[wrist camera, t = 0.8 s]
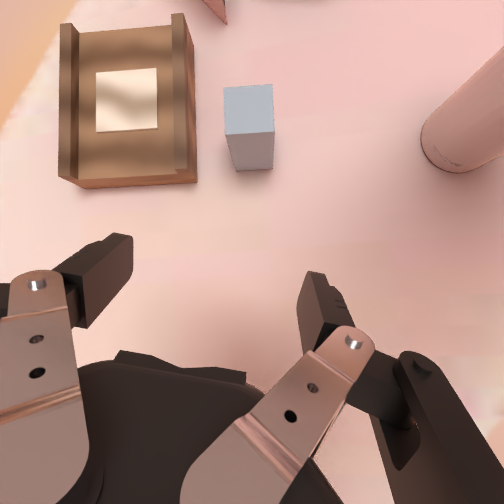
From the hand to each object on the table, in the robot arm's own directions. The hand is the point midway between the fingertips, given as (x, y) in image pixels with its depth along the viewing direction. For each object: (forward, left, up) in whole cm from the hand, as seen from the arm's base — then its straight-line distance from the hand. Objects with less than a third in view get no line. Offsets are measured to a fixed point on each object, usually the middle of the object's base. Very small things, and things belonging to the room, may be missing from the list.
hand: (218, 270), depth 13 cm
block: (-13, -10, -24) cm, 29 cm away
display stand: (-7, -26, -24) cm, 36 cm away
